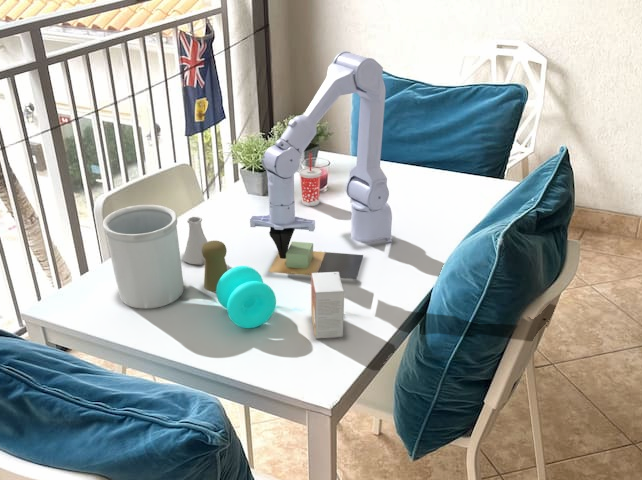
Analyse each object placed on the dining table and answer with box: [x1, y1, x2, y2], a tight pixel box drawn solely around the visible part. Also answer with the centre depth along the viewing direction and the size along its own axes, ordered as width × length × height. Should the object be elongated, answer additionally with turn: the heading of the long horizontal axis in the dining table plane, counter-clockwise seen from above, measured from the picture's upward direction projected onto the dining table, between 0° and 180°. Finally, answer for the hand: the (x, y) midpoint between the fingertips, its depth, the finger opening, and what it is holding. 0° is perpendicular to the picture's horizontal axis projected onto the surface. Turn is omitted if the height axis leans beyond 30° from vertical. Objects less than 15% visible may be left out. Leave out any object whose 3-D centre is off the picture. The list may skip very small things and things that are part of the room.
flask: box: [182, 216, 208, 265], centre depth 162 cm, size 7×7×10 cm
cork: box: [202, 240, 229, 293], centre depth 150 cm, size 6×6×11 cm
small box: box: [310, 272, 345, 340], centre depth 136 cm, size 8×6×10 cm
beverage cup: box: [298, 152, 323, 207], centre depth 189 cm, size 6×6×14 cm
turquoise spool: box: [215, 265, 277, 329], centre depth 140 cm, size 10×10×10 cm
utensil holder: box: [102, 204, 185, 310], centre depth 147 cm, size 15×15×18 cm
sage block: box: [286, 241, 314, 269], centre depth 160 cm, size 5×6×4 cm
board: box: [268, 250, 364, 280], centre depth 160 cm, size 20×12×1 cm, turn 79°
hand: (283, 256), depth 161 cm, fingers closed
